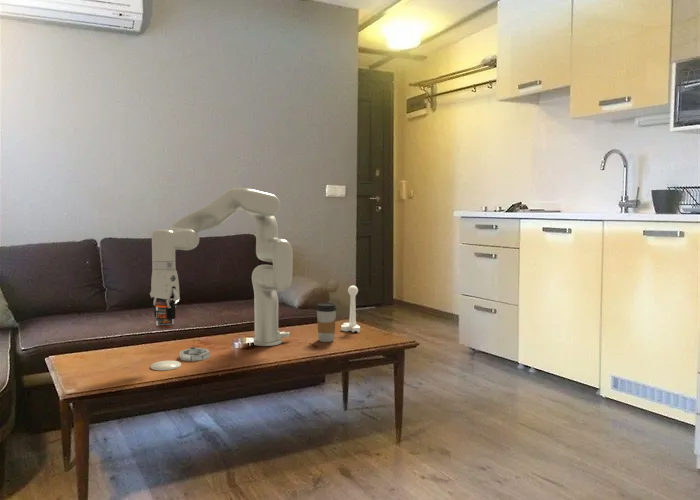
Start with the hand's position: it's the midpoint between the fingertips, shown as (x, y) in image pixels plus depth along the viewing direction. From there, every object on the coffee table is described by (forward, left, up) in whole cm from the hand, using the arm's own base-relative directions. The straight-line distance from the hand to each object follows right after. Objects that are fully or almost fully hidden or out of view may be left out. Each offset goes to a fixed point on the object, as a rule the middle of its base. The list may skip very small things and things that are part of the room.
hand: (164, 317), depth 200 cm
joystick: (-81, -27, -17) cm, 87 cm away
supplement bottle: (0, 0, -4) cm, 4 cm away
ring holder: (-11, -8, -17) cm, 22 cm away
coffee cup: (-65, -14, -17) cm, 69 cm away
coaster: (0, 0, -17) cm, 17 cm away
